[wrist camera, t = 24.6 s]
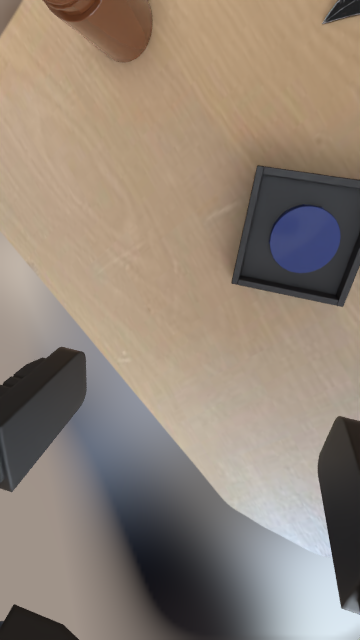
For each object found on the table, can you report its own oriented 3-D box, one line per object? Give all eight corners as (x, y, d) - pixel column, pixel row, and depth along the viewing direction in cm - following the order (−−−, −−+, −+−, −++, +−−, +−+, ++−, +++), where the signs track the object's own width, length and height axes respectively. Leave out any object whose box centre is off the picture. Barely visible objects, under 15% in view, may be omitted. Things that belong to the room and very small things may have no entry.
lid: (346, 210, 27) (351, 212, 26) (323, 273, 30) (327, 279, 28) (279, 199, 28) (279, 200, 27) (263, 261, 31) (262, 266, 29)
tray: (233, 277, 33) (231, 283, 31) (257, 166, 28) (257, 165, 26) (338, 299, 31) (343, 307, 29) (384, 184, 26) (392, 184, 25)
